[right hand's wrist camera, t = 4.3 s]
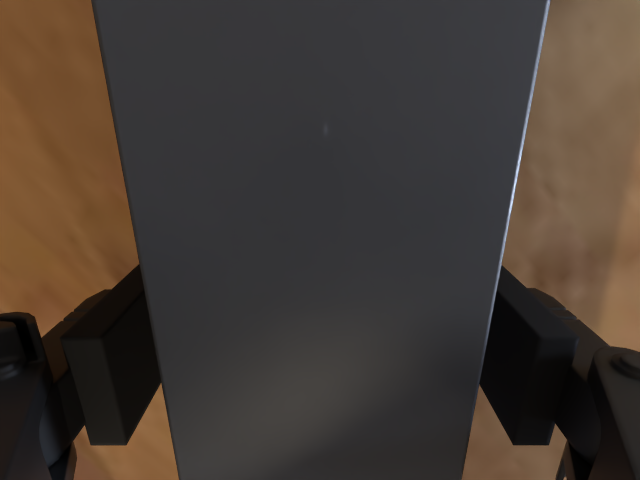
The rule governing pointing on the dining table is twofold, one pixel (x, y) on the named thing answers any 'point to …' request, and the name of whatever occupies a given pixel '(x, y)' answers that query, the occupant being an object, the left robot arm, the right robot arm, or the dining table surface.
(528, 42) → the bar
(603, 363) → the right robot arm
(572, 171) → the dining table surface
